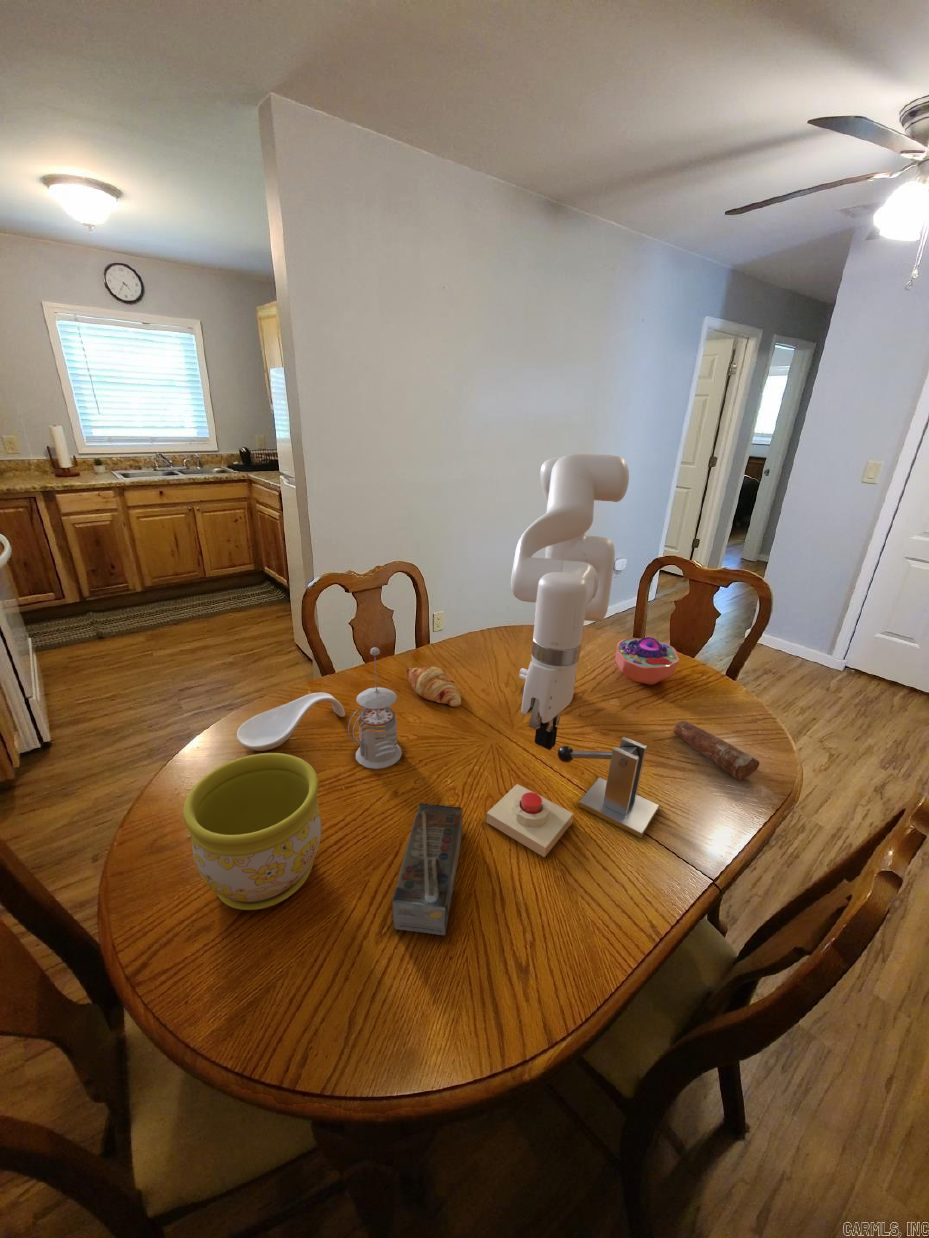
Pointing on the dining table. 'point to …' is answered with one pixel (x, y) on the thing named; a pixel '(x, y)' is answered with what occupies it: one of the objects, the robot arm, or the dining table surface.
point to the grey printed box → (428, 870)
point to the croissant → (434, 685)
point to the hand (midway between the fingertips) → (544, 744)
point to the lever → (589, 753)
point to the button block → (530, 821)
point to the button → (531, 803)
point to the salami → (717, 750)
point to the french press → (377, 713)
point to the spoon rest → (280, 722)
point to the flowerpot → (255, 828)
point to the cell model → (646, 659)
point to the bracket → (622, 792)
